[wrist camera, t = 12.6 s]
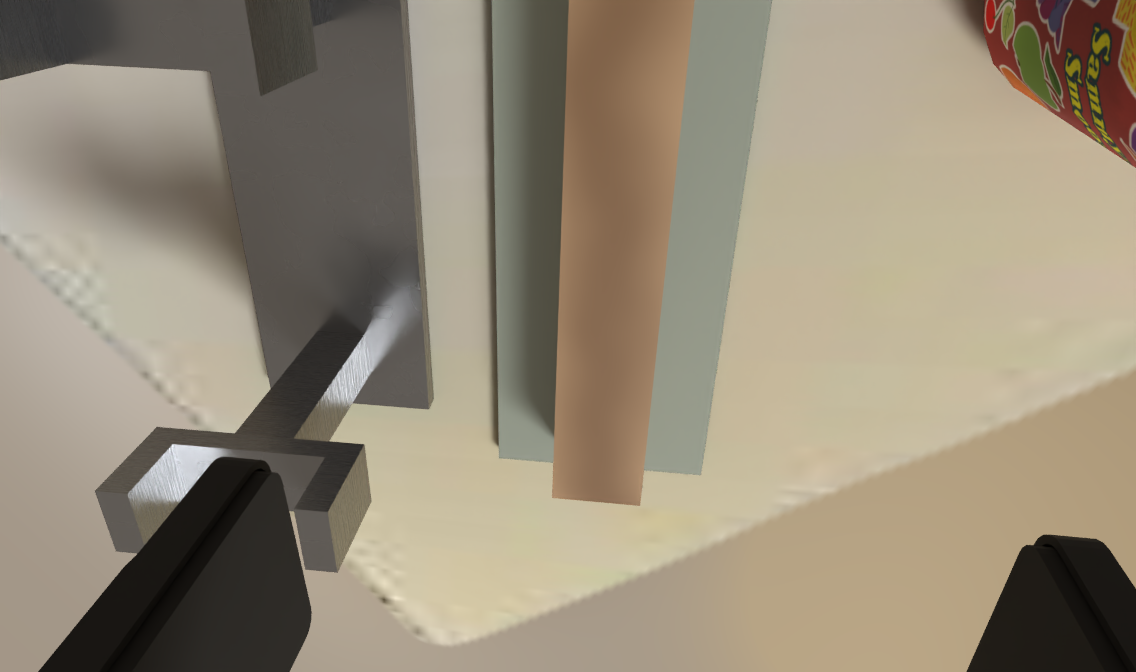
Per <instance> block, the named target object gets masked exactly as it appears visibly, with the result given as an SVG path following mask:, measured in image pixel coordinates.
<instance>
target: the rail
mask: <svg viewBox="0 0 1136 672" xmlns="http://www.w3.org/2000/svg"><path fill="white" fill-rule="evenodd" d="M694 1H695V0H569V13H568V43H567V73H566V103H565V132H564V162H563V192H562V222H561V251H560V281H559V311H558V341H557V370H556V400H555V430H554V460H553V490H552V498H560V499H571V500H582V501H593V502H604V503H615V504H626V505H637V506H640V501H641V492H642V482H643V473H644V464H645V455H646V445H647V436H648V427H649V418H650V408H651V399H652V390H653V381H654V371H655V362H656V353H657V344H658V334H659V325H660V316H661V306H662V297H663V288H664V279H665V269H666V260H667V251H668V242H669V232H670V223H671V214H672V205H673V195H674V186H675V177H676V168H677V158H678V149H679V140H680V131H681V121H682V112H683V103H684V94H685V84H686V75H687V66H688V56H689V47H690V38H691V29H692V19H693V10H694Z"/></svg>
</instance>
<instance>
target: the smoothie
mask: <svg viewBox="0 0 1136 672" xmlns="http://www.w3.org/2000/svg"><path fill="white" fill-rule="evenodd" d="M983 32H984V35H985V38H986V41H987V45H988V48H989V51H990V54H991V58H992V61H993V64H994V65H995V66H996V67H997V68H998V70H999V71H1000V72H1001V73H1002V74H1003V76H1004V77H1005V78H1006V79H1007V80H1008V81H1009V83H1010V84H1011V85H1012V86H1013V87H1014V88H1016V89H1017V90H1019V91H1020V92H1022V93H1023V94H1025V95H1026V96H1028V97H1029V98H1031V99H1032V100H1034V101H1035V102H1037V103H1038V104H1040V105H1042V106H1043V107H1045V108H1046V109H1048V110H1049V111H1051V112H1052V113H1054V114H1055V115H1057V116H1058V117H1060V118H1061V119H1063V120H1064V121H1066V122H1067V123H1069V124H1070V125H1072V126H1073V127H1075V128H1076V129H1078V130H1079V131H1081V132H1082V133H1084V134H1085V135H1087V136H1088V137H1090V138H1092V139H1093V140H1095V141H1096V142H1098V143H1099V144H1101V145H1102V146H1104V147H1105V148H1107V149H1108V150H1110V151H1111V152H1113V153H1114V154H1116V155H1117V156H1119V157H1120V158H1122V159H1123V160H1125V161H1126V162H1128V163H1129V164H1131V165H1132V166H1134V167H1135V168H1136V0H984V28H983Z"/></svg>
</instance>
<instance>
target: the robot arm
mask: <svg viewBox="0 0 1136 672" xmlns="http://www.w3.org/2000/svg"><path fill="white" fill-rule="evenodd" d="M310 623H311V606H310V601H309V597H308V593H307V588H306V584H305V580H304V575H303V570H302V566H301V561H300V557H299V553H298V548H297V544H296V539H295V535H294V531H293V526H292V522H291V517H290V513H289V508H288V504H287V499H286V495H285V491H284V486H283V482H282V479H281V476H280V475H279V474H278V473H275V472H271V469H270V467H269V465H268V463H267V462H266V461H263V460H256V459H245V458H235V457H224V456H222V457H219V458H217V459H216V460H214V461H213V462H212V463H211V464H210V466H209V467H208V468H207V469H206V470H205V472H204V473H203V474H202V475H201V477H200V478H199V479H198V480H197V481H196V483H195V484H194V485H193V486H192V488H191V489H190V490H189V491H188V493H187V494H186V495H185V496H184V497H183V499H182V500H181V501H180V502H179V504H178V505H177V506H176V507H175V508H174V510H173V511H172V512H171V513H170V515H169V516H168V517H167V518H166V519H165V521H164V522H163V523H162V524H161V526H160V527H159V528H158V529H157V531H156V532H155V533H154V534H153V535H152V537H151V538H150V539H149V540H148V542H147V543H146V544H145V545H144V546H143V548H142V549H141V550H140V551H139V553H138V554H137V555H136V556H135V557H134V558H133V559H132V560H131V561H130V562H129V563H128V564H127V565H126V566H125V567H124V568H123V569H122V570H121V571H120V573H119V574H118V575H117V576H116V577H115V579H114V580H113V581H112V582H111V584H110V585H109V586H108V587H107V589H106V590H105V591H104V592H103V593H102V595H101V596H100V597H99V598H98V599H97V601H96V602H95V603H94V605H93V606H92V607H91V608H90V609H89V610H88V612H87V613H86V614H85V615H84V616H83V618H82V619H81V620H80V621H79V623H78V624H77V625H76V626H75V627H74V629H73V630H72V631H71V632H70V634H69V635H68V636H67V637H66V638H65V640H64V641H63V642H62V643H61V645H60V646H59V647H58V648H57V649H56V651H55V652H54V653H53V654H52V656H51V657H50V658H49V659H48V660H47V662H46V663H45V664H44V666H43V667H42V668H41V669H40V670H39V671H38V672H290V670H291V667H292V665H293V663H294V661H295V659H296V657H297V655H298V653H299V651H300V649H301V647H302V645H303V643H304V641H305V639H306V637H307V634H308V631H309V628H310ZM967 672H1136V589H1135V587H1134V586H1133V584H1132V583H1131V581H1130V580H1129V578H1128V577H1127V575H1126V574H1125V572H1124V571H1123V569H1122V568H1121V566H1120V565H1119V563H1118V562H1117V560H1116V559H1115V557H1114V556H1113V554H1112V553H1111V551H1110V550H1109V549H1108V548H1107V546H1106V545H1105V544H1104V543H1103V542H1101V541H1099V540H1097V539H1090V538H1079V537H1068V536H1058V535H1042V536H1041V537H1039V538H1038V539H1037V541H1036V542H1035V544H1034V545H1026V546H1024V547H1023V548H1022V549H1021V551H1020V553H1019V555H1018V557H1017V559H1016V562H1015V564H1014V566H1013V568H1012V571H1011V573H1010V575H1009V577H1008V580H1007V582H1006V584H1005V587H1004V589H1003V591H1002V593H1001V595H1000V597H999V600H998V602H997V605H996V606H995V609H994V611H993V613H992V616H991V618H990V620H989V622H988V625H987V627H986V629H985V631H984V634H983V636H982V638H981V640H980V643H979V645H978V647H977V649H976V652H975V654H974V656H973V659H972V661H971V663H970V665H969V667H968V670H967Z"/></svg>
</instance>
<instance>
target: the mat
mask: <svg viewBox="0 0 1136 672" xmlns="http://www.w3.org/2000/svg"><path fill="white" fill-rule="evenodd" d="M771 4H772V0H695V1H694V10H693V19H692V29H691V38H690V47H689V56H688V66H687V75H686V84H685V94H684V103H683V112H682V121H681V131H680V140H679V149H678V158H677V168H676V177H675V186H674V195H673V205H672V214H671V223H670V232H669V242H668V251H667V260H666V269H665V279H664V288H663V297H662V306H661V316H660V325H659V334H658V344H657V353H656V362H655V371H654V381H653V390H652V399H651V408H650V418H649V427H648V436H647V445H646V455H645V464H644V470H646V471H657V472H669V473H681V474H693V475H701V471H702V464H703V458H704V451H705V444H706V438H707V431H708V424H709V418H710V411H711V404H712V398H713V391H714V384H715V378H716V371H717V364H718V358H719V351H720V344H721V338H722V331H723V324H724V318H725V311H726V304H727V298H728V291H729V284H730V278H731V271H732V264H733V258H734V251H735V244H736V238H737V231H738V224H739V218H740V211H741V204H742V198H743V191H744V184H745V178H746V171H747V164H748V158H749V151H750V144H751V138H752V131H753V124H754V118H755V111H756V104H757V98H758V91H759V84H760V78H761V71H762V64H763V58H764V51H765V44H766V37H767V31H768V24H769V17H770V11H771ZM568 13H569V0H492V51H493V113H494V176H495V238H496V300H497V363H498V425H499V458H503V459H515V460H527V461H539V462H551V463H553V460H554V430H555V400H556V370H557V341H558V311H559V281H560V251H561V222H562V192H563V162H564V132H565V103H566V73H567V43H568Z"/></svg>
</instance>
